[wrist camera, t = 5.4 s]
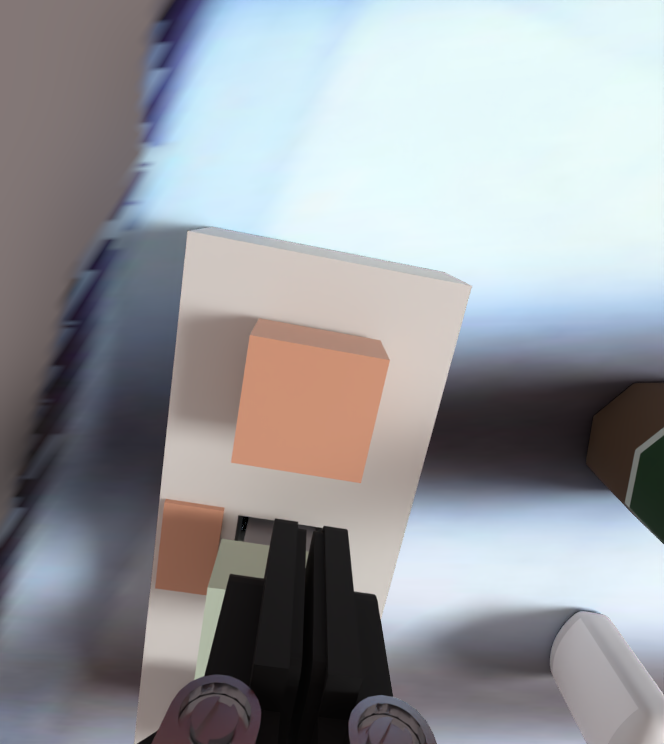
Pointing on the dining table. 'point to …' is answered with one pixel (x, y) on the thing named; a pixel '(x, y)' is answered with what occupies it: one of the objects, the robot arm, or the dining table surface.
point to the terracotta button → (309, 400)
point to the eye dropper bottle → (606, 683)
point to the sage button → (238, 561)
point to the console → (274, 487)
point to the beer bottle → (632, 452)
